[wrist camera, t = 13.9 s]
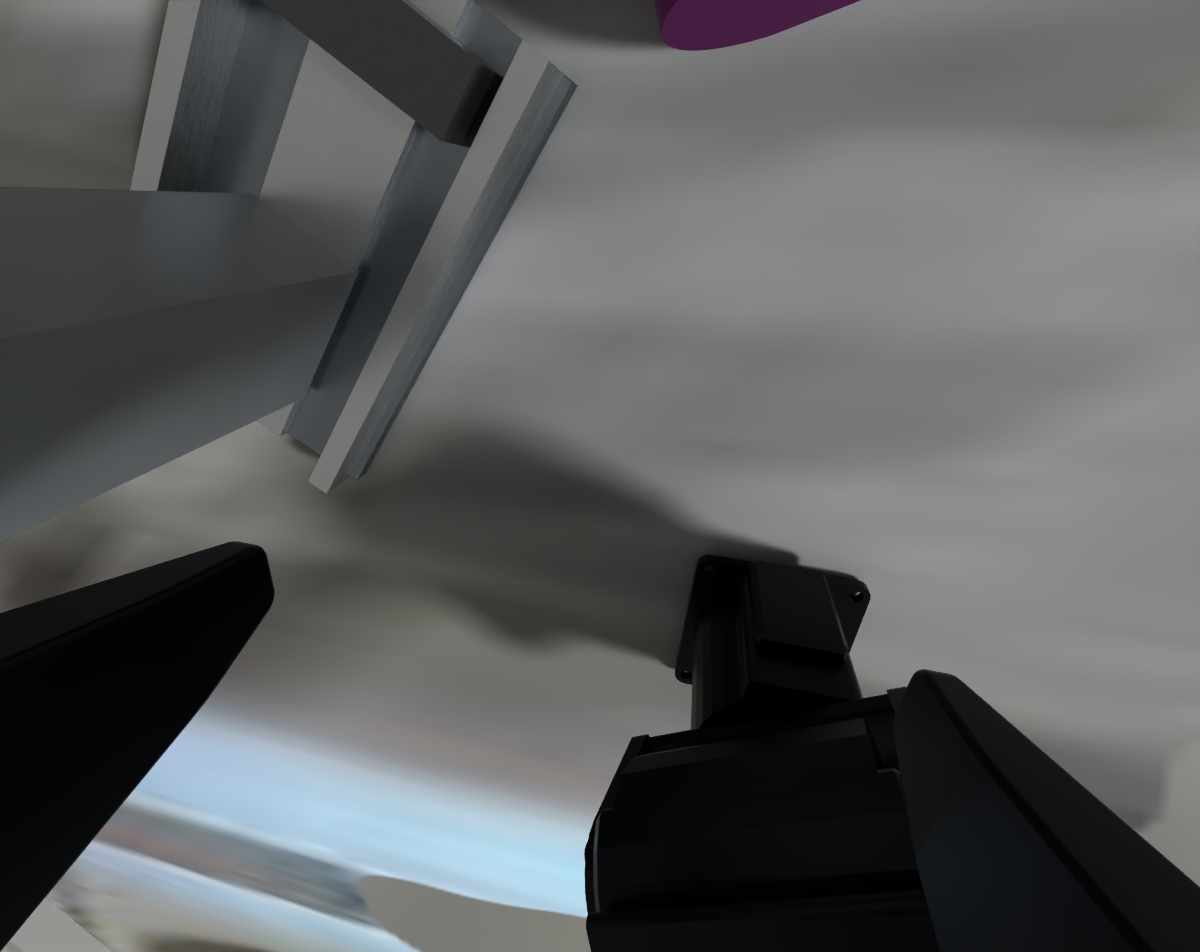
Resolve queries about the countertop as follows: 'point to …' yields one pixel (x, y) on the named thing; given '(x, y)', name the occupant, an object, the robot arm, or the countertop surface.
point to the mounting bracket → (733, 20)
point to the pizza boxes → (52, 933)
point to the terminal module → (146, 333)
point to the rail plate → (356, 168)
